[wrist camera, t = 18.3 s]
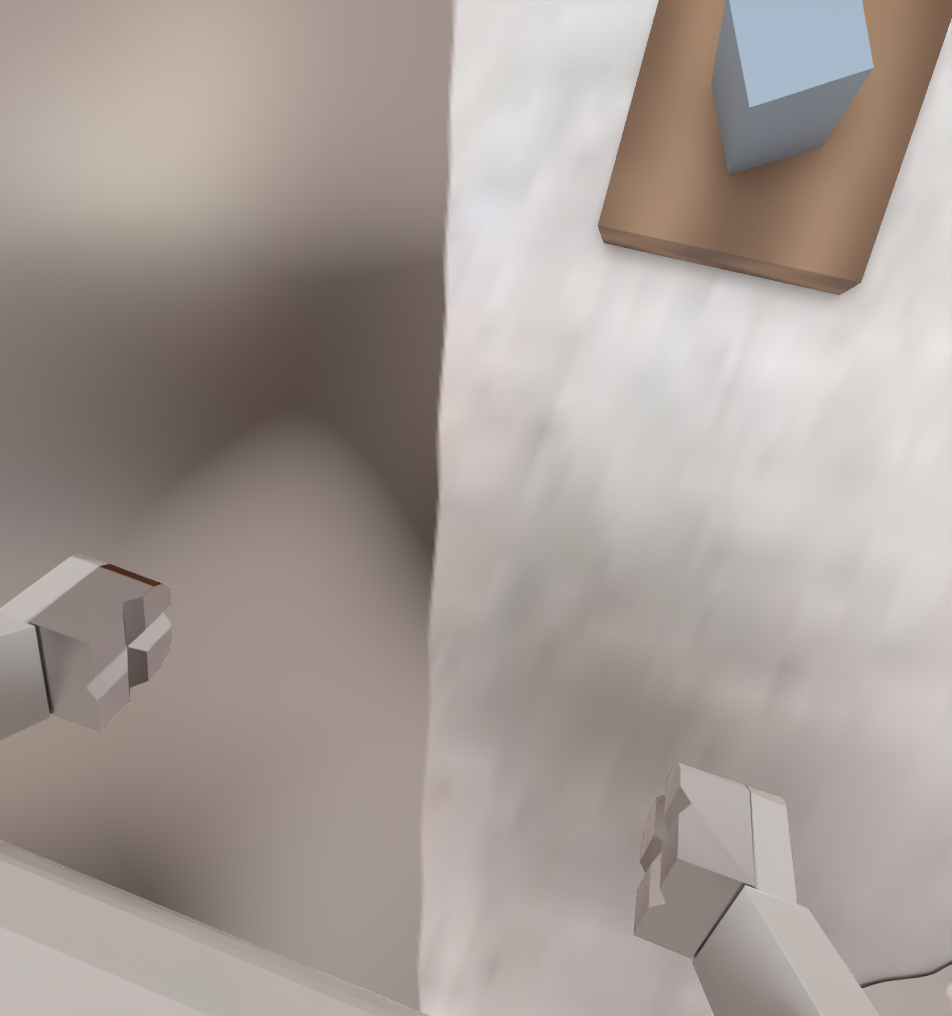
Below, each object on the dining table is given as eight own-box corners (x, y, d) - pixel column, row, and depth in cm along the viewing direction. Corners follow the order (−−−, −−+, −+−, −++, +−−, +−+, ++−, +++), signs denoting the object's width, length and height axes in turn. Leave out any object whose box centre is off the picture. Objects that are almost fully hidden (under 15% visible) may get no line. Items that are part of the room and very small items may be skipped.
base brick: (927, 34, 35) (961, -12, 31) (839, 294, 37) (861, 282, 33) (671, -6, 37) (673, -53, 33) (603, 242, 39) (598, 225, 35)
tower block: (823, 146, 33) (874, 67, 25) (728, 174, 34) (749, 107, 26) (805, 52, 32) (852, -56, 25) (711, 84, 33) (727, -11, 26)
